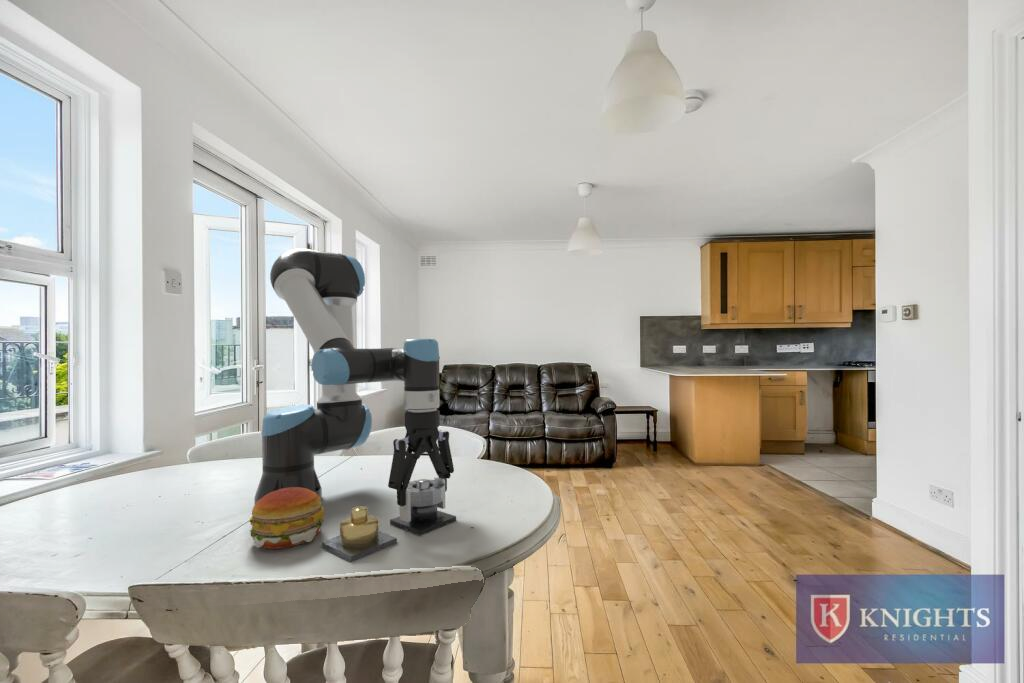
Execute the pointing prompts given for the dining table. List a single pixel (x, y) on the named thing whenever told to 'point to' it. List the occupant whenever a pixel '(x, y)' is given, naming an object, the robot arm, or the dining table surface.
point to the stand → (424, 516)
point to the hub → (358, 536)
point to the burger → (286, 518)
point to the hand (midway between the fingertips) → (423, 513)
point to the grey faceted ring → (427, 494)
